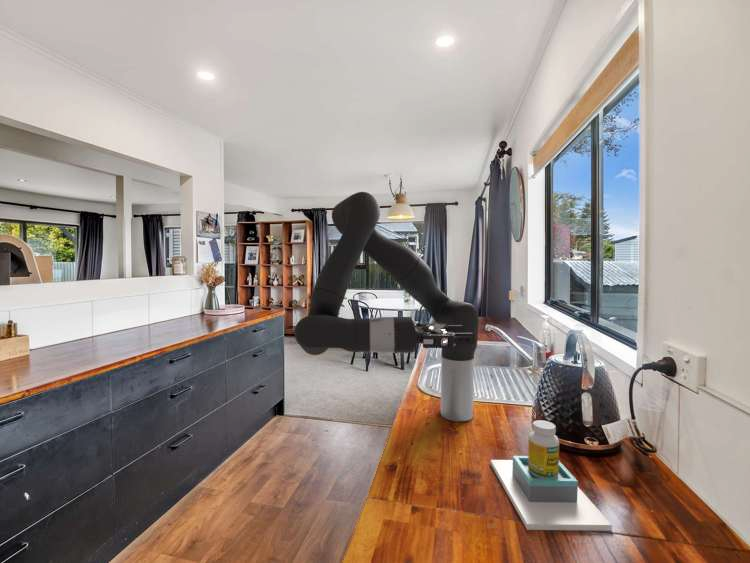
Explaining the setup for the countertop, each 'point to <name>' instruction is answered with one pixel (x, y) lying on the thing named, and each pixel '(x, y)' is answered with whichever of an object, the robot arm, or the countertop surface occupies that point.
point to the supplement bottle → (543, 450)
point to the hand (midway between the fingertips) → (468, 334)
